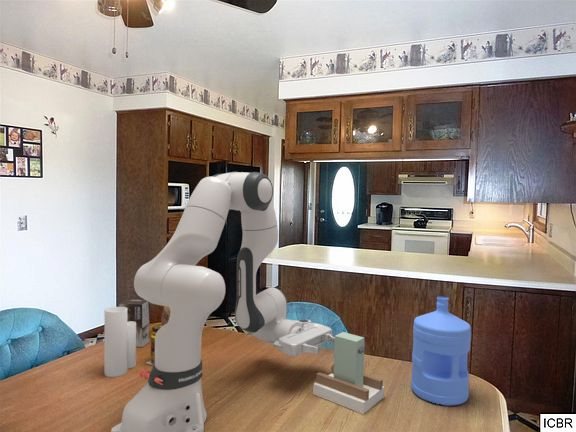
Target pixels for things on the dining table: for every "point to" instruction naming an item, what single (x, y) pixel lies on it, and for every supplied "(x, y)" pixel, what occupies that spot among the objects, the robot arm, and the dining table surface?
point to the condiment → (153, 343)
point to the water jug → (441, 356)
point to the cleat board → (349, 391)
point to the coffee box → (138, 319)
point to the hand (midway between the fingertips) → (327, 346)
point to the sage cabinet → (349, 358)
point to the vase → (119, 342)
